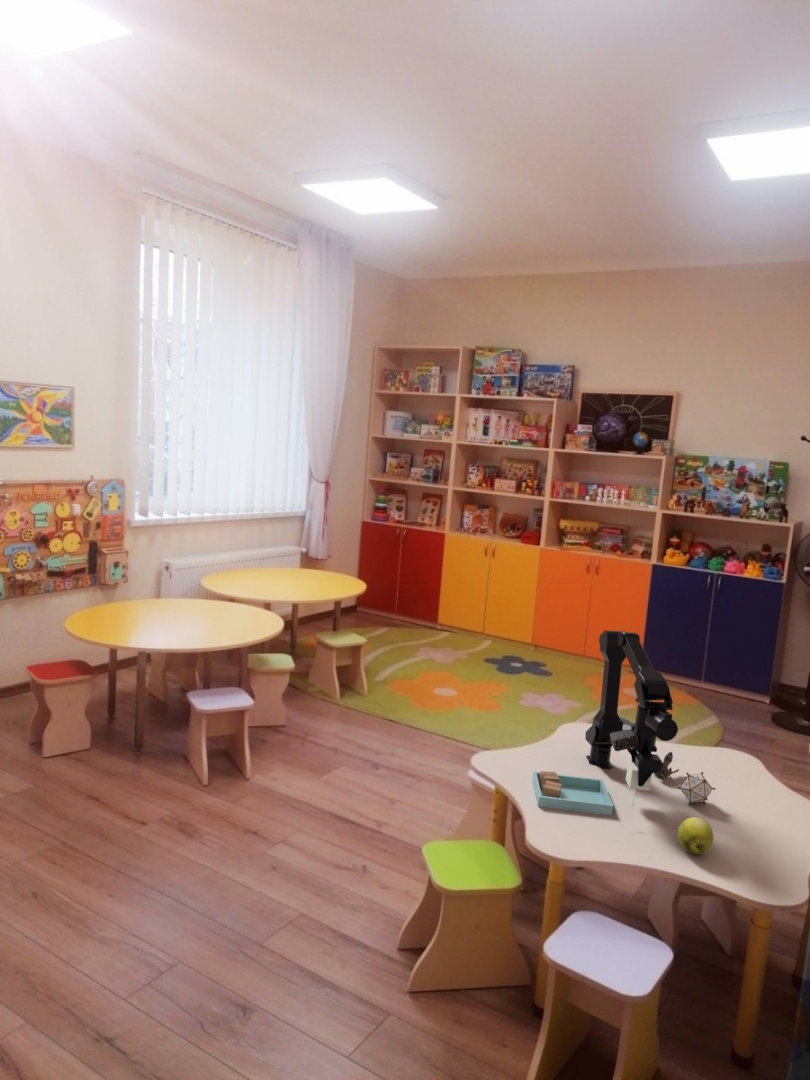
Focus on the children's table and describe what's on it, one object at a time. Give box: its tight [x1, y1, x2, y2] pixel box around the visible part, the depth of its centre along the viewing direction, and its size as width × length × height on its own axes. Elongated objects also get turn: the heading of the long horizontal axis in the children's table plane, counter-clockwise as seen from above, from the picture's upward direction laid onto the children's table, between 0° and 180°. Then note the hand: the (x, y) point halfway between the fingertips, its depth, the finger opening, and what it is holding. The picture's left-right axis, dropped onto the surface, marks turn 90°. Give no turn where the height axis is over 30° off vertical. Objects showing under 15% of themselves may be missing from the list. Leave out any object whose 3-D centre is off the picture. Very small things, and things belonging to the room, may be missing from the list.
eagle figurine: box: [660, 751, 680, 783], centre depth 223 cm, size 8×7×9 cm
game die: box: [676, 771, 716, 806], centre depth 208 cm, size 9×8×10 cm
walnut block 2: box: [543, 780, 562, 798], centre depth 201 cm, size 4×4×4 cm
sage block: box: [625, 761, 653, 791], centre depth 204 cm, size 5×5×5 cm
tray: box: [531, 771, 614, 816], centre depth 203 cm, size 15×19×3 cm
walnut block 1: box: [539, 770, 559, 792], centre depth 206 cm, size 4×4×4 cm
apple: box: [677, 816, 714, 855], centre depth 183 cm, size 8×9×8 cm
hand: (637, 781), depth 204 cm, fingers closed on sage block, 5 cm apart
